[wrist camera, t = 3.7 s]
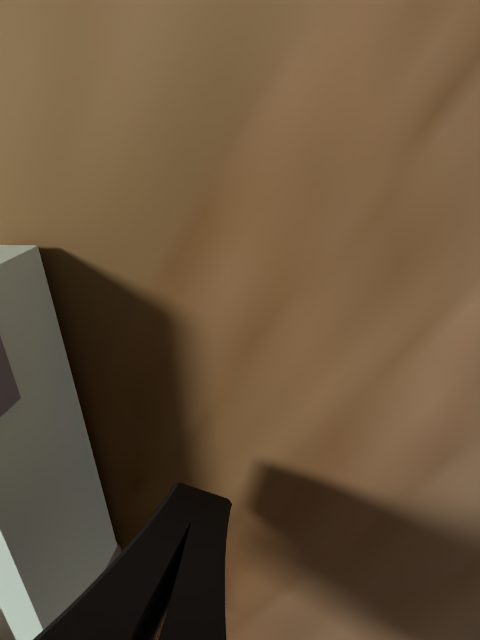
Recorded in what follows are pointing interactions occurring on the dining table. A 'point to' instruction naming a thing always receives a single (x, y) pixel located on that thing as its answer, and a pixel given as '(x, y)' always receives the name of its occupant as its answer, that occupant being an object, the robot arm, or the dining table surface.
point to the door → (43, 460)
